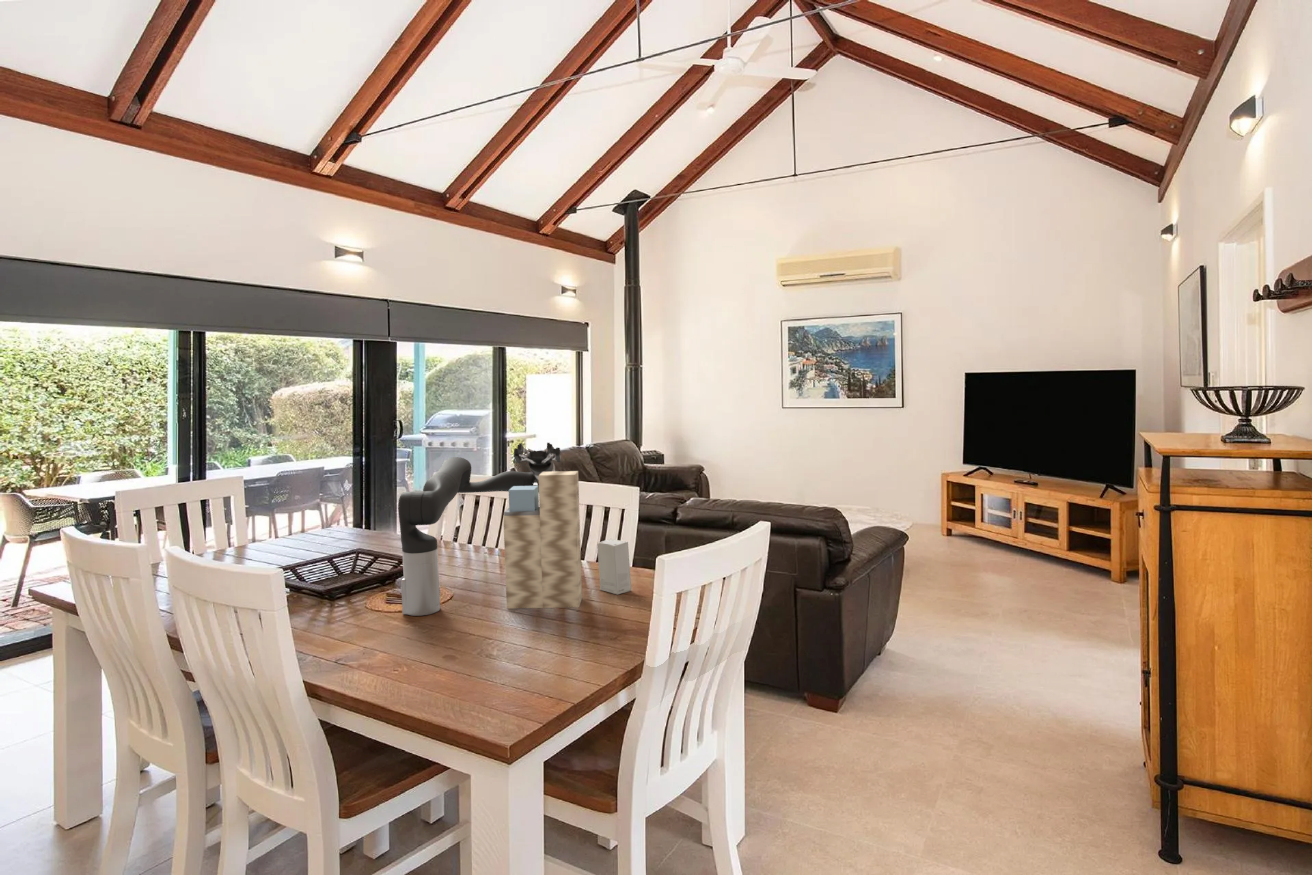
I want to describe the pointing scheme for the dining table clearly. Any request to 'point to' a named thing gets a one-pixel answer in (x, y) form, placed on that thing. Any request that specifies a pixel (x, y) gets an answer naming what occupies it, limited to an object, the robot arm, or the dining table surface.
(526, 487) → the blue handle block
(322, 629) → the dining table surface
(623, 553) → the skincare box
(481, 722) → the dining table surface
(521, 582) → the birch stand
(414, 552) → the robot arm
